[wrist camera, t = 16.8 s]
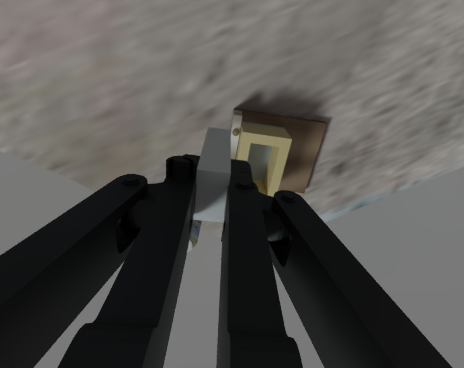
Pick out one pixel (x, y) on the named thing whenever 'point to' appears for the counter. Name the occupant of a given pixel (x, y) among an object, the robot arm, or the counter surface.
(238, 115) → the wall board
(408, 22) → the counter surface
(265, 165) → the frame
